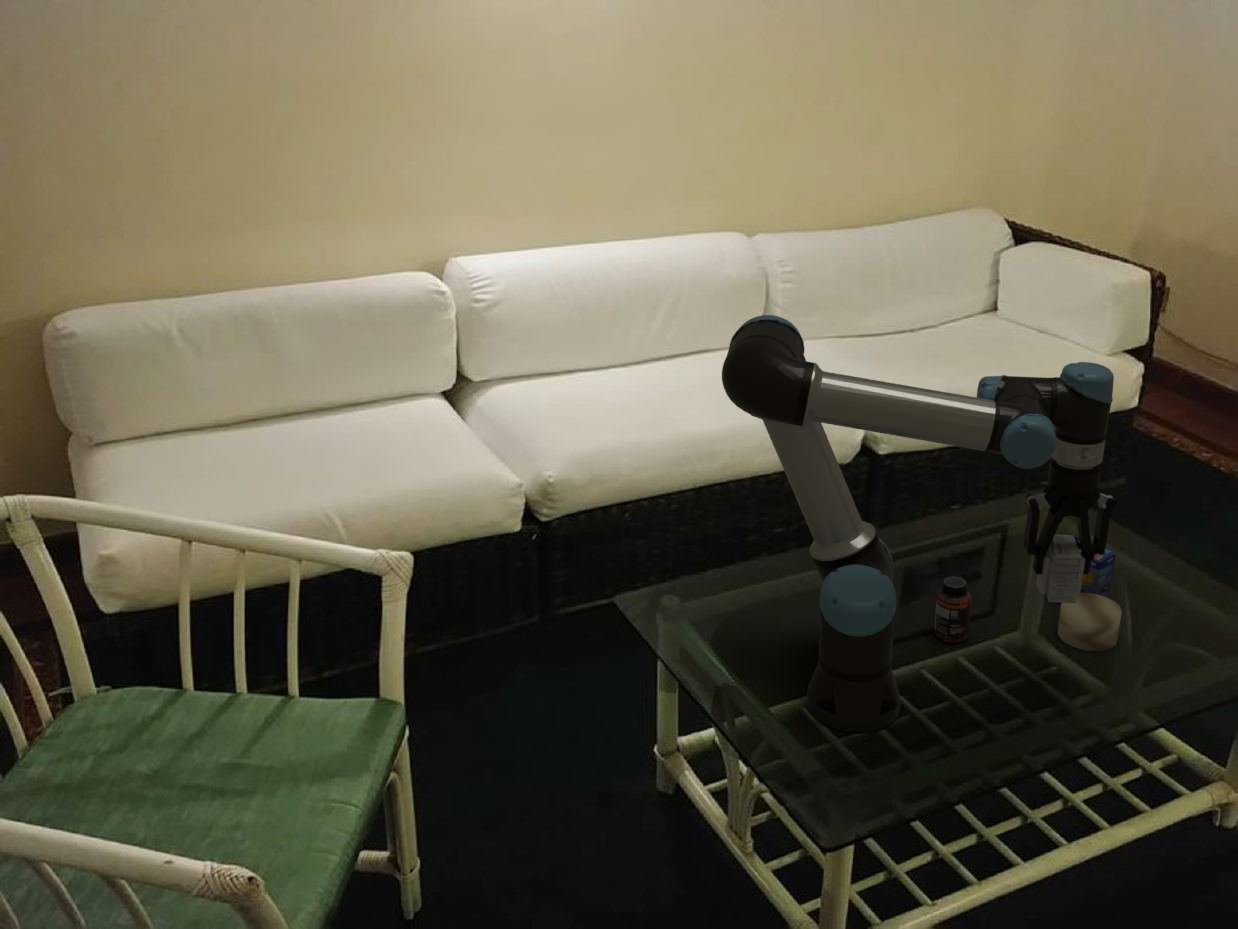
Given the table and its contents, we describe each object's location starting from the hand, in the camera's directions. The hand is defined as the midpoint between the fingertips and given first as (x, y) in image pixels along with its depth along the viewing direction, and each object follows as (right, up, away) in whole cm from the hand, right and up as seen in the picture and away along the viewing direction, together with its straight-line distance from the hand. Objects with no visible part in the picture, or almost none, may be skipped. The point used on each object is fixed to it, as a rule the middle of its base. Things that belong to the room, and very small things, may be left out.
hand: (1057, 589), depth 186 cm
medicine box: (0, -1, 0) cm, 1 cm away
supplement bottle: (-12, -11, +19) cm, 25 cm away
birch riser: (+12, -10, +17) cm, 23 cm away
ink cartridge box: (+14, -6, +27) cm, 31 cm away
